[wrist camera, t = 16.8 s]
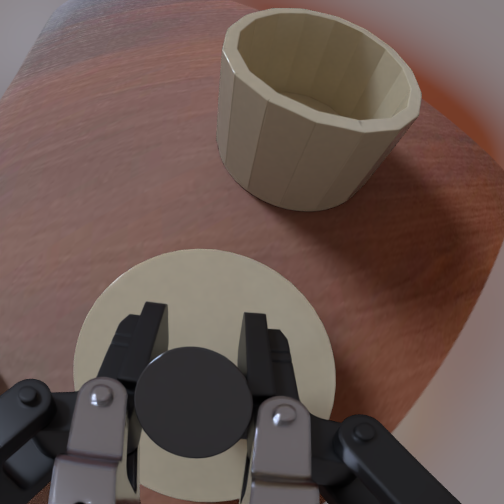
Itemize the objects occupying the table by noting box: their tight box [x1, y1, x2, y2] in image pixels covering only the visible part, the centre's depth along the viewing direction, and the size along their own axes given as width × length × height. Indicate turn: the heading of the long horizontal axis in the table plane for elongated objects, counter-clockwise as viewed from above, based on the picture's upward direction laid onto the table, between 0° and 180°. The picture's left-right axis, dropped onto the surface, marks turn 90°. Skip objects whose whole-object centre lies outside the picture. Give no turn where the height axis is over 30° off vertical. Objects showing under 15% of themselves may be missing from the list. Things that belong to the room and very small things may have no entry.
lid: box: [74, 249, 336, 502], centre depth 10 cm, size 12×12×9 cm
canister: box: [216, 8, 422, 211], centre depth 19 cm, size 12×12×8 cm
